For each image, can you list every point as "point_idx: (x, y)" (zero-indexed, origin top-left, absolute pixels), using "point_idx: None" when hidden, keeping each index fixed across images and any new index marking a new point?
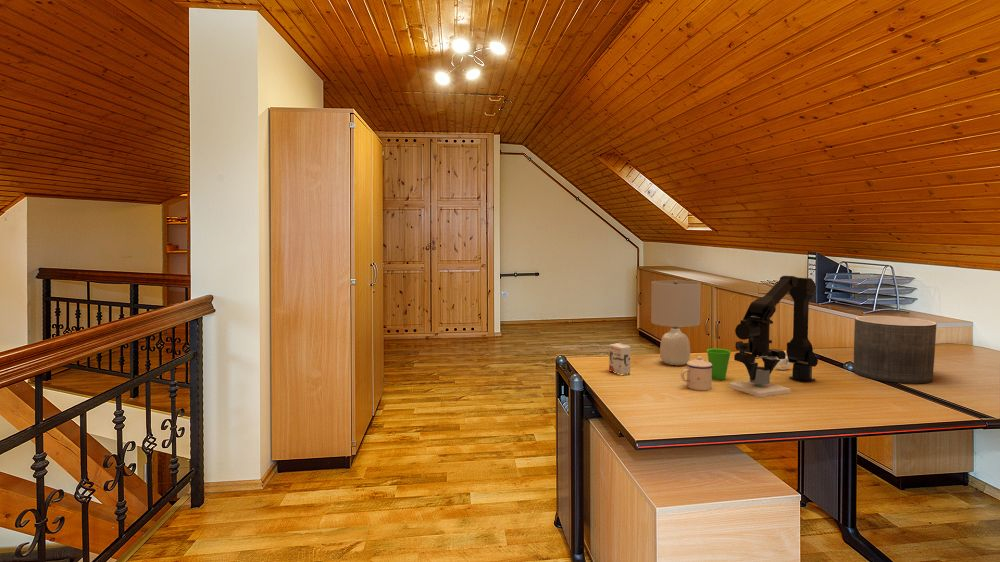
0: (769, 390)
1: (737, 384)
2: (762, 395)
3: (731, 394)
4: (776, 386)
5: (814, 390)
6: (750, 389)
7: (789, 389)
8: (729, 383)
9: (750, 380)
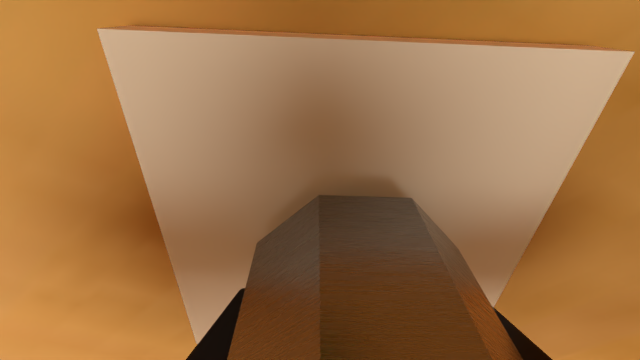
0: None
1: (169, 131)
2: None
3: (35, 217)
4: None
5: (630, 332)
6: (190, 280)
7: None
8: (103, 30)
9: (254, 264)
